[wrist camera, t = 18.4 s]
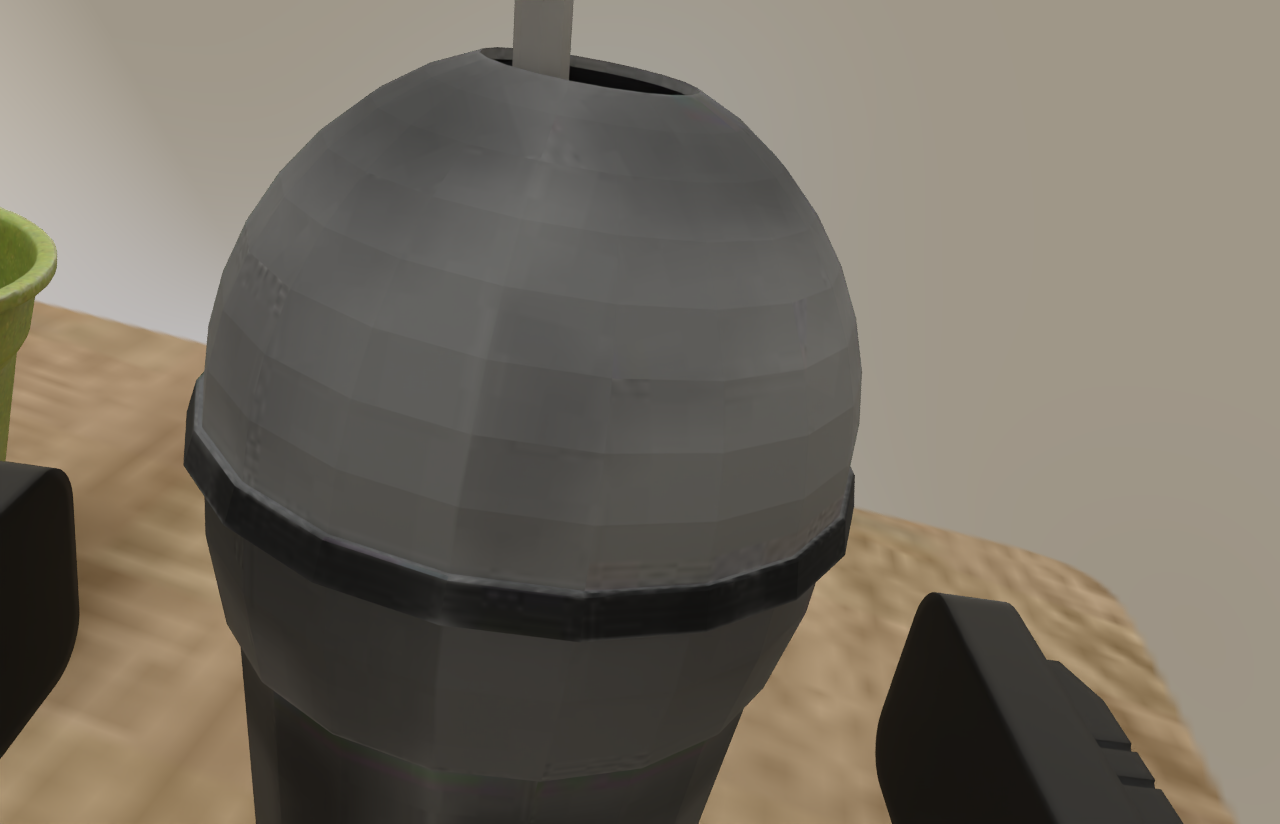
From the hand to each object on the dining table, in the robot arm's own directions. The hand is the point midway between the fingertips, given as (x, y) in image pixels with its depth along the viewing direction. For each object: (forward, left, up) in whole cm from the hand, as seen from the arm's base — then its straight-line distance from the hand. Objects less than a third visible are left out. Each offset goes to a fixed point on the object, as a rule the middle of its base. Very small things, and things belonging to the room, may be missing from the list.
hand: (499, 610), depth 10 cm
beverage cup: (+2, +2, -11) cm, 11 cm away
